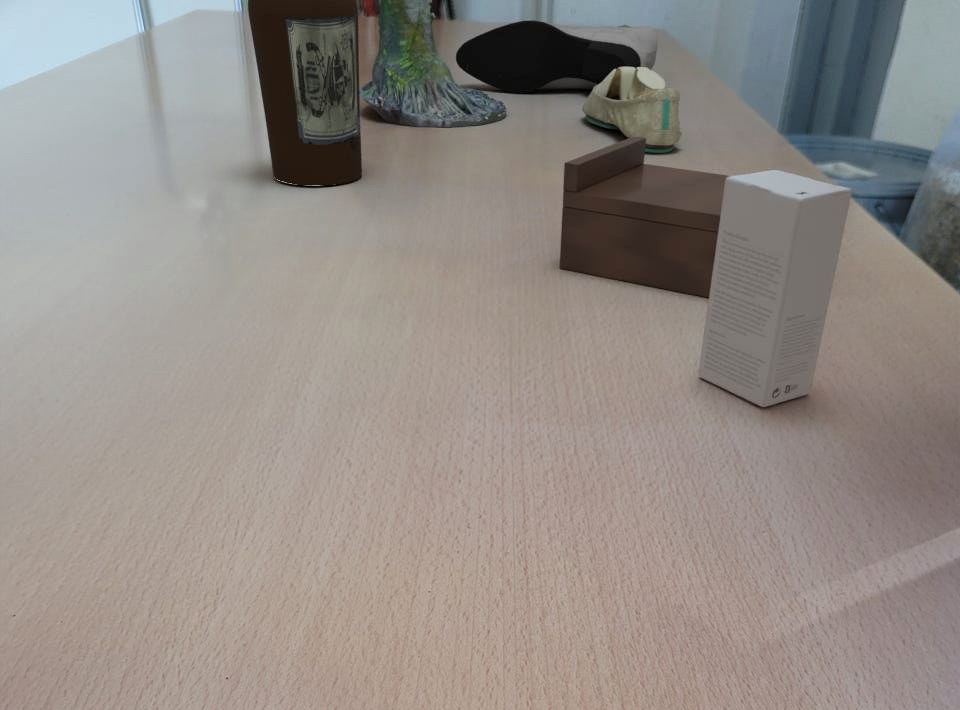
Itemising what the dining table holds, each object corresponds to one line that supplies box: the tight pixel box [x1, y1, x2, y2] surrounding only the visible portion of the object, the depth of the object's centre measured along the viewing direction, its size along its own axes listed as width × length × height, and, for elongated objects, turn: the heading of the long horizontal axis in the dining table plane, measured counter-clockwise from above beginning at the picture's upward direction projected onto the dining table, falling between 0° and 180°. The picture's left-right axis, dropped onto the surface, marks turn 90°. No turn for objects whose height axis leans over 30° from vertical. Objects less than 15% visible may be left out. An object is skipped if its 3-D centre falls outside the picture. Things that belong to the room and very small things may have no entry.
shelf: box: [559, 136, 730, 299], centre depth 80 cm, size 16×12×8 cm
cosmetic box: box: [697, 169, 853, 408], centre depth 59 cm, size 6×4×12 cm
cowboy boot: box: [455, 19, 659, 94], centre depth 154 cm, size 10×28×25 cm
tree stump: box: [359, 0, 507, 128], centre depth 132 cm, size 18×20×18 cm
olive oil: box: [247, 0, 363, 186], centre depth 99 cm, size 11×11×25 cm
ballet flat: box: [581, 67, 683, 154], centre depth 123 cm, size 8×25×8 cm, turn 15°
